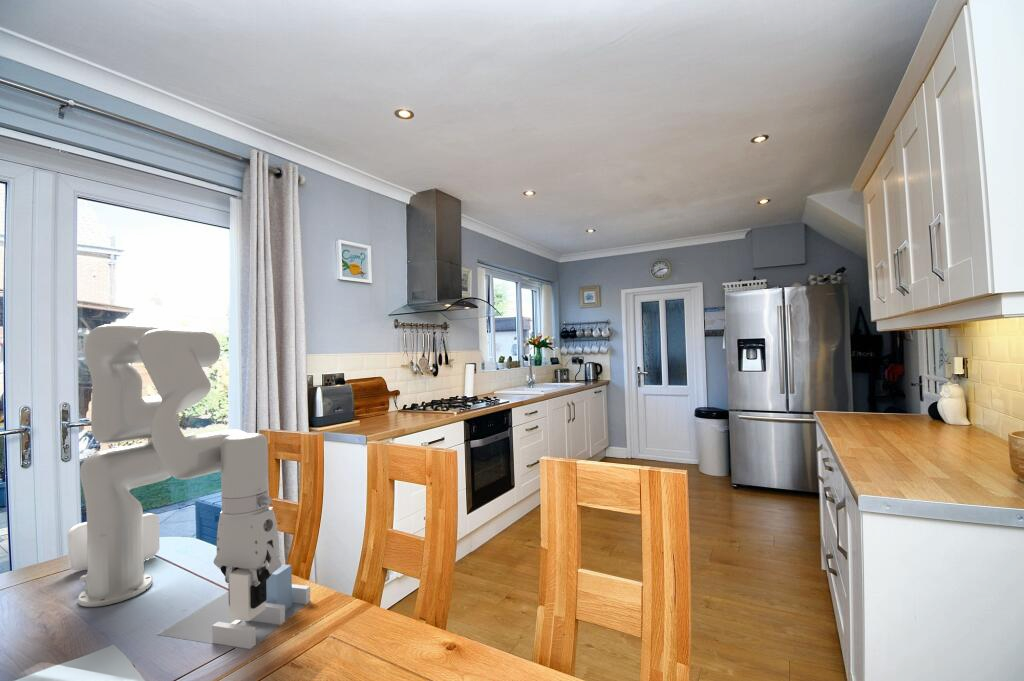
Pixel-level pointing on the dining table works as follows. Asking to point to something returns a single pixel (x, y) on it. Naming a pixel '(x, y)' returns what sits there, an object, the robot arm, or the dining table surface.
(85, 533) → the cable organizer
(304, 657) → the dining table surface
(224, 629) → the comb board
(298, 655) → the dining table surface
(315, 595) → the dining table surface
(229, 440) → the robot arm
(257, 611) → the off-white plug
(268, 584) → the blue plug
